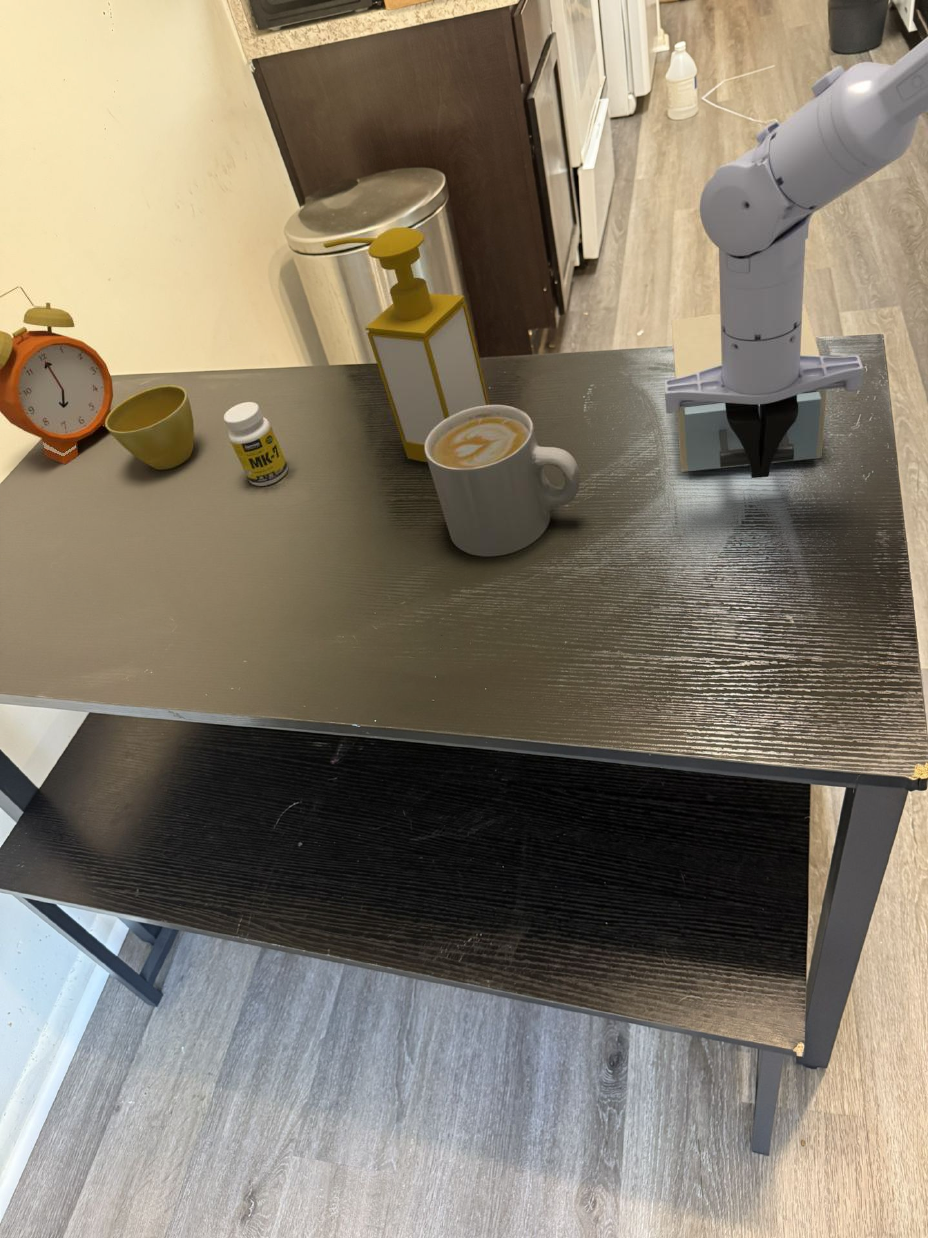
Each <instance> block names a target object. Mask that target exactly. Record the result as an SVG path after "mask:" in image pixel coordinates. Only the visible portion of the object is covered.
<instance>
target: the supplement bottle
mask: <svg viewBox="0 0 928 1238" xmlns="http://www.w3.org/2000/svg"><path fill="white" fill-rule="evenodd" d="M223 420H224V423H225V425H226V428H227V429H228V440H229V442H230V444H231V446H232V448H233V450H234V453H235V455H236V457H237V458H238V461H239V463H240V465H241V467H242V470H243V471H244V473H245V475H246V477H247V480H248V482H250V484H251V485H254V486H258V487H264V486H265V487H266V486H269V485H272V484H274V483H277V482H278V481H280V480H281V479H282V478H284V476H286V474H287V473H288V470H289V466H288V462H287V460H286V458H285V455H284V453H283V451H282V448H281V445H280V443H279V441H278V439H277V437H276V434H275V432H274V430H273V428H272V427H273V426H272V424H271V423H270V421H269V420H268V419H267V418H265V417H264V415H263V412H262V410H261V408H260V405H259V404H258V403H256V402H254V401H246V402H241V403H238V404H236V405H234V406H232V407H231V408H229V409H228V410H227V411H226V412H225V413H224V415H223Z"/></svg>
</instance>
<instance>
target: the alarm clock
mask: <svg viewBox="0 0 928 1238" xmlns="http://www.w3.org/2000/svg"><path fill="white" fill-rule="evenodd" d="M18 288H20V289H21V291H22V293H23V294H24V295H25V298H27V300H28V301H29V302H30V304H31V306H33V307H31V308H29V309H27V311H26V312H25V313H24V316H23V319H22V321H23V323H24V324H26V325H32V326H39V327H46V328H47V330H28V329H27V327H26V326H23V327H21V328H19V329H18V330H16V331H14V332H13V333H11V334H9V333H8V332H5V331H3V330H0V413H1V415H3V417H4V418H5V419H6V420H7V421H8V422H9V423H10V424H11V425H13V426H15V427H17V428H19V429H21V430H22V431H24V432H26V433H28V434H31V435H33V436H35V437H37V438H39V439H41V441H42V443H43V442H44V443H46V444H47V445H49V446H50V447H53V448H54V449H56V450H57V451H59V452H61V453H65V452H66V451H68V450H69V449H71V448H72V447H74V446H75V445H77V446H78V442H79V441H80V440H84V438H87V437H89V436H91V435H93V433H95V432H96V431H97V430H98V429H99V428H100V427H102V428H105V429H107V428H106V426H105V421H106V418H107V416H108V415H109V413H110V412H111V411H112V410H111V408H112V403H113V399H114V387H113V377H112V376H111V373H110V371H109V368H108V365H107V363H106V362H105V361H104V360H103V358H102V356H100V354H99V353H98V352H97V350H95V349H94V348H93V347H92V346H90V345H88V344H87V343H85V342H84V341H83V340H80V339H76V338H73V337H70V336H67V335H63V334H60V333H56V332H53V330H52V329H53V328H75V322H74V318H73V316H71V314H70V313H69V312H67V311H65V310H63V309H61V308H55V307H54V308H53V307H51V302H45V306H41V305H40V306H39V305H38V306H37V305H34V303H33V302H32V300H31V299H30V297H29V296H28V295H27V293H26V291H24V289H23V288H22V287H21V286H16V287H14V288H12V289H11V290H9V291H7V292H5V293H3V294H1V295H0V298H2V297H4V296H6V295H7V294H9V293H11V292H13V291H15V290H17V289H18ZM103 425H104V426H103ZM78 452H79V451H78V447H77V448H75V449H74V450H72V451H71V452H69V453H68V454H66V455H65V456H61V455H59V454H57V453H54V452H52V451H50V450H47V449H45V448H43V453H44V454H43V455H44V457H47V458H49V459H52V460H53V461H56V462H59V463H61V464H63V465H66V464H67V463H69V462H71V461H72V460H74V459H75V458H77V457H78V456H79V453H78Z"/></svg>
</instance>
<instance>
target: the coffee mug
mask: <svg viewBox="0 0 928 1238" xmlns="http://www.w3.org/2000/svg"><path fill="white" fill-rule="evenodd" d="M535 431H536V430H535V426H534V423H533V421H532V419H531V417H530V415H528V414H527V413H526V412H525V411H524V410H521V409H519V408H517V407H513V406H510V405H505V404H490V405H485V406H478V407H473V408H470V409H467V410H463V411H461V412H458V413H456V414H454V415H452V416H450V417H448V418H446V419H445V420H443V421H442V422H441V423H439V424H438V425H437V426H436V427H435V428H434V429H433V430H432V431H431V432H430V434H429V435H428V437H427V439H426V442H425V454H426V458H427V461H428V462H427V464H428V468H429V471H430V474H431V478H432V481H433V484H434V487H435V491H436V494H437V497H438V501H439V504H440V507H441V511H442V513H443V516H444V520H445V523H446V527H447V530H448V533H449V537H450V540H451V542H452V543H453V544H454V545H455V547H457V548H458V549H459V550H461V551H463V552H465V553H467V554H469V555H472V556H477V557H500V556H505V555H508V554H512V553H515V552H518V551H521V550H523V549H525V548H527V547H528V546H530V545H531V544H533V543H534V542H536V541H537V540H538V539H539V538H540V537H542V535H543V534H544V533H545V531H546V530H547V528H548V527H549V523H550V520H551V510H552V509H555V508H559V507H561V506H565V505H566V504H568V503H570V502H572V501H573V500H574V499H575V497H576V496H577V494H578V492H579V489H580V481H581V478H580V477H581V475H580V469H579V466H578V463H577V461H576V459H575V458H574V457H573V456H572V454H570V452H568V451H567V450H565V449H562V448H559V447H553V446H540V445H538V441H537V437H536V432H535ZM545 466H554V467H556V468H558V469H559V470H560V471H561V473H562V475H563V477H564V483H565V484H564V486H562V487H561V486H560V487H557V486H555V485H553V484H552V483H550V481H549V480H548V478H547V476H546V473H545V469H544V467H545Z"/></svg>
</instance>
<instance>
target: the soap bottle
mask: <svg viewBox="0 0 928 1238" xmlns="http://www.w3.org/2000/svg"><path fill="white" fill-rule="evenodd" d="M424 242H425V235H424V233H422V232H421V231H419V230H418V229H415V228H412V227H411V228H410V227H405V226H401V227H400V226H399V227H391V228H390V229H387V230H385V231H383V232H381V233H380V234H378V235H377V237H346V238H341V239H336V240H331V241H328V242H324V243H323V247H324V248H325V249H328V248H333V247H336V246H341V245H346V244H348V245H349V244H370V245H369V246H368V251H367V254H368V255H369V256H370V258H374V259H378V261H379V264H380V267H381V268H382V269H383V270H388V271H393V270H394V274H395V276H396V280H397V282H396V283H395V284H393V285H392V286H391V287H390V289H389V294H390V298H391V300H392V301H391V302H392V304H391V305H389V306H388V307H387V308H385V310H384V311H382V312H381V313H380V314H379V315H378V316H376V317H375V319H373V320H372V321H371V322H370V323H369V324H367V326H365V328H364V329H365V331H368V332H367V333H366V335H367V338H368V340H369V344H370V346H371V351H372V353H373V356H374V359H375V362H376V365H377V368H378V371H379V374H380V378H381V380H382V384H383V386H384V389H385V393H386V396H387V399H388V402H389V405H390V408H391V411H392V414H393V417H394V421H395V424H396V427H397V429H398V433H399V436H400V439H401V442H402V446H403V449H404V452H405V455H406V457H407V460H412V461H418V462H423V463H428V461H427V458H426V454H425V442H426V439H427V437H428V435H429V434H430V432H431V431H432V430H433V429H434V428H435V427H436V426H437V425H438V424H439V423H441V422H442V421H443V420H445V419H446V418H448V417H450V416H452V415H454V414H456V413H458V412H461V411H463V410H467V409H470V408H473V407H478V406H485V405H491V404H490V400H489V396H488V391H487V387H486V382H485V378H484V374H483V370H482V366H481V362H480V361H481V360H480V357H479V353H478V348H477V344H476V340H475V335H474V332H473V331H474V330H473V327H472V323H471V318H470V314H469V313H470V312H469V310H468V305H467V302H466V301H465V298H466V296H465V295H458V294H457V295H456V294H443V293H431V292H430V291H429V288H428V283H427V280H425V279H424V278H422V277H415V275H414V272H413V269H412V268H413V267H412V265H413V264H415V263H417V261H418V260H419V259H420V258H421V252H420V248H419V247H420V246H421V245H422V244H423V243H424Z"/></svg>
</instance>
